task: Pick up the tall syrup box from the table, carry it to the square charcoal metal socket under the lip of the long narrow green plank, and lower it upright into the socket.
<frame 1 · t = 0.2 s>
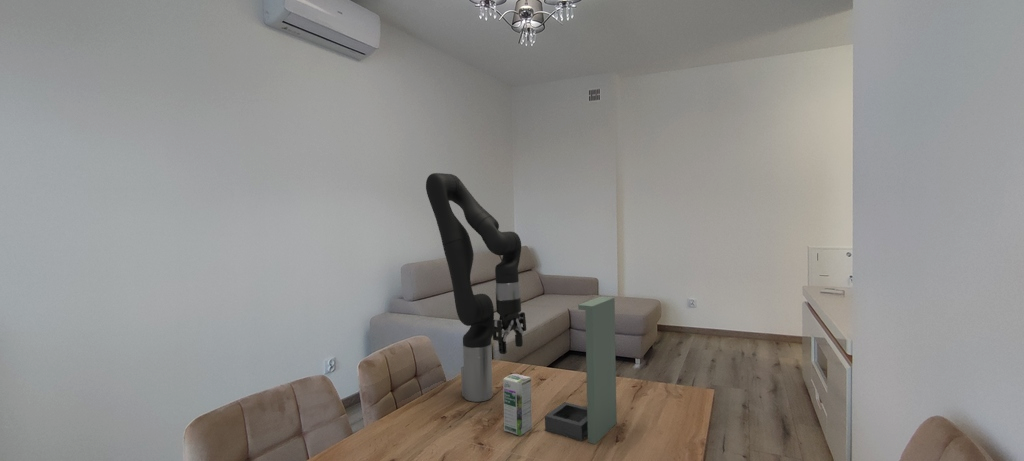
hand: (511, 349, 138), 18 cm above the table, tool pointing down, fingers open, 8 cm apart
syrup box: (518, 430, 124), on the table
wine bottle: (600, 408, 137), on the table
socket: (572, 427, 124), on the table
long narrow green plank: (602, 432, 121), on the table
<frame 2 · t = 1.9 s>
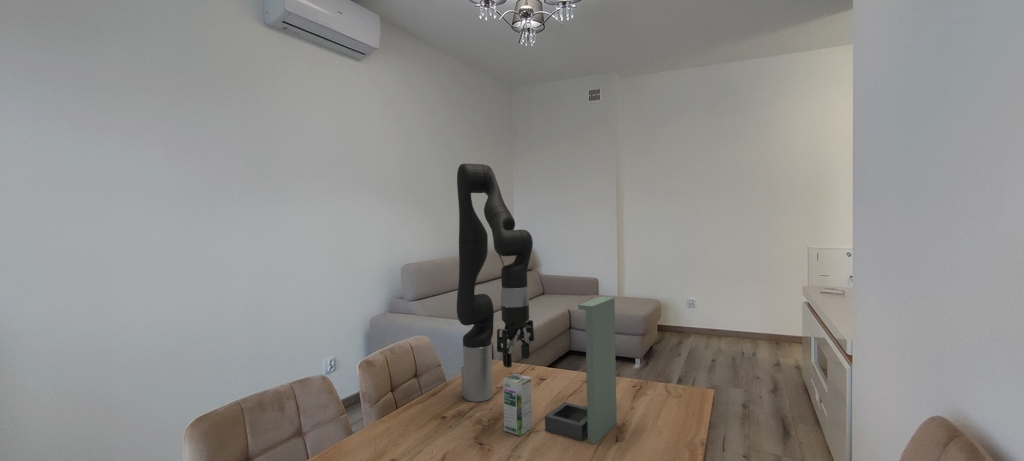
hand: (516, 362, 123), 19 cm above the table, tool pointing down, fingers open, 8 cm apart
nothing on the table moved.
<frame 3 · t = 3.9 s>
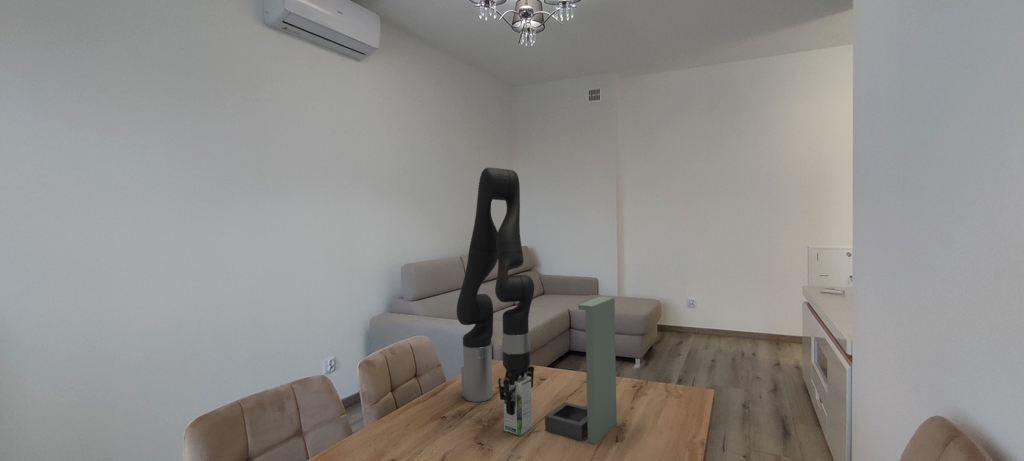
hand: (517, 409, 124), 6 cm above the table, tool pointing down, fingers closed on syrup box, 6 cm apart
syrup box: (518, 430, 124), on the table, touching gripper
everything else where it was.
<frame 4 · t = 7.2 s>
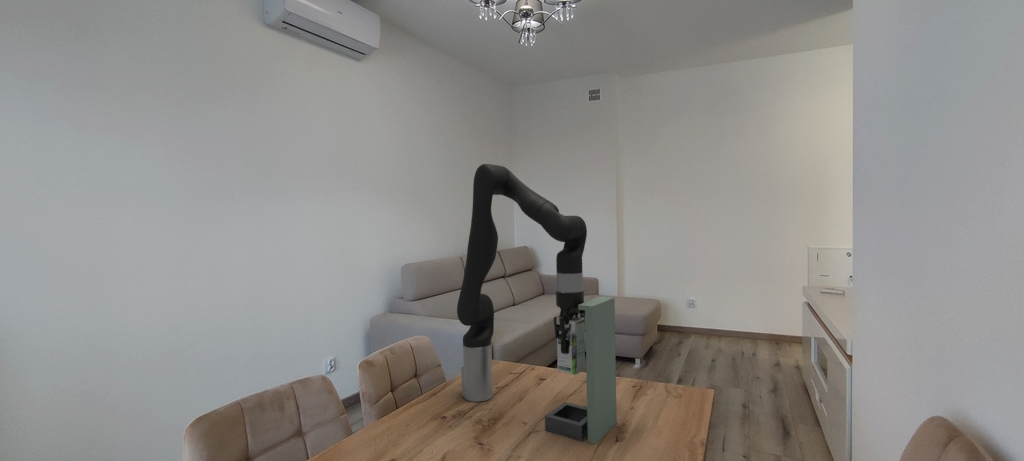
hand: (570, 350, 124), 21 cm above the table, tool pointing down, fingers closed on syrup box, 6 cm apart
syrup box: (571, 371, 124), point 16 cm above the table, touching gripper
everything else where it was.
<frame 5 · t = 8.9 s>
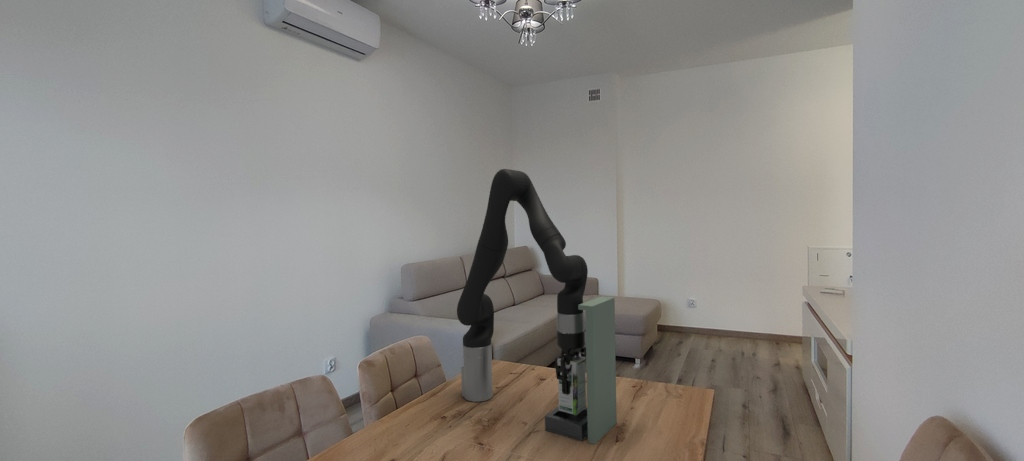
hand: (571, 389, 124), 11 cm above the table, tool pointing down, fingers closed on syrup box, 6 cm apart
syrup box: (572, 410, 124), point 5 cm above the table, touching gripper
everything else where it was.
when the fingers open (6 cm above the table, at t = 10.6 s): syrup box stays where it is, resting in socket.
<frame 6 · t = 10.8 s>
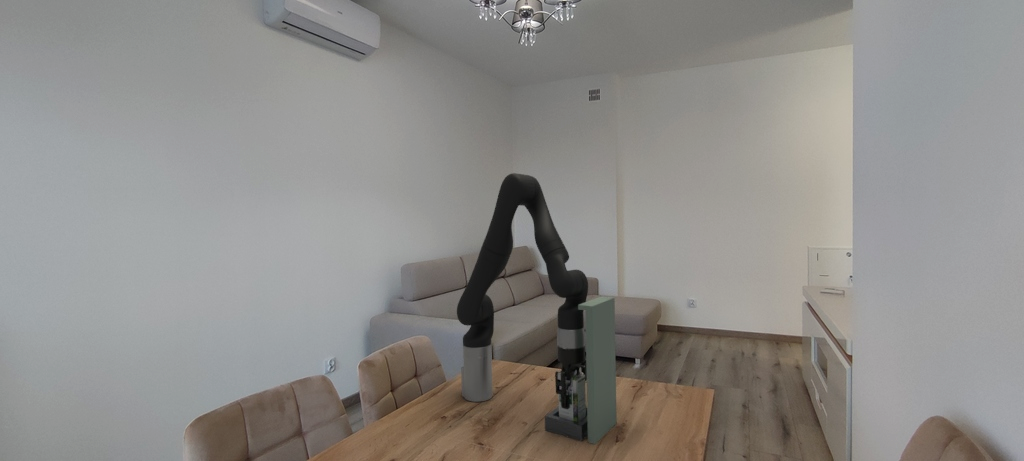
hand: (572, 403, 124), 7 cm above the table, tool pointing down, fingers open, 7 cm apart
syrup box: (572, 428, 125), resting in socket
everything else where it was.
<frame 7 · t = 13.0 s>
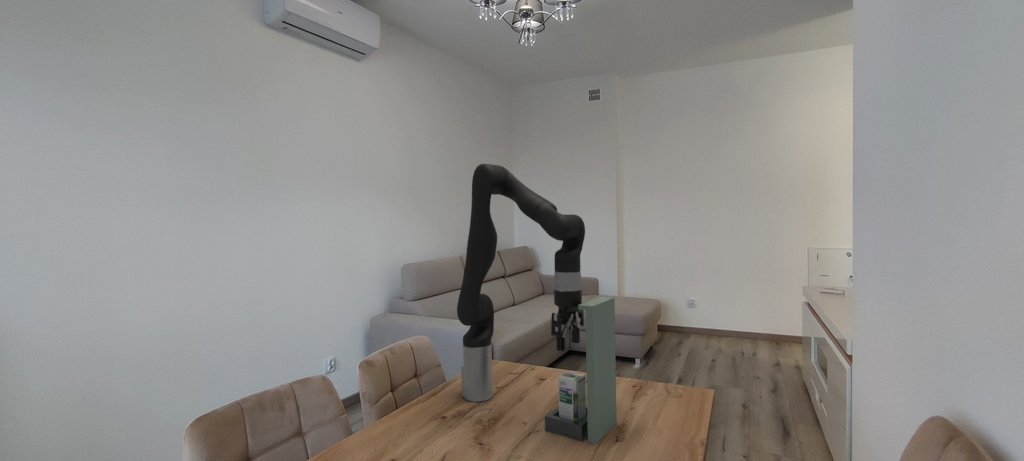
hand: (568, 346, 124), 22 cm above the table, tool pointing down, fingers open, 8 cm apart
nothing on the table moved.
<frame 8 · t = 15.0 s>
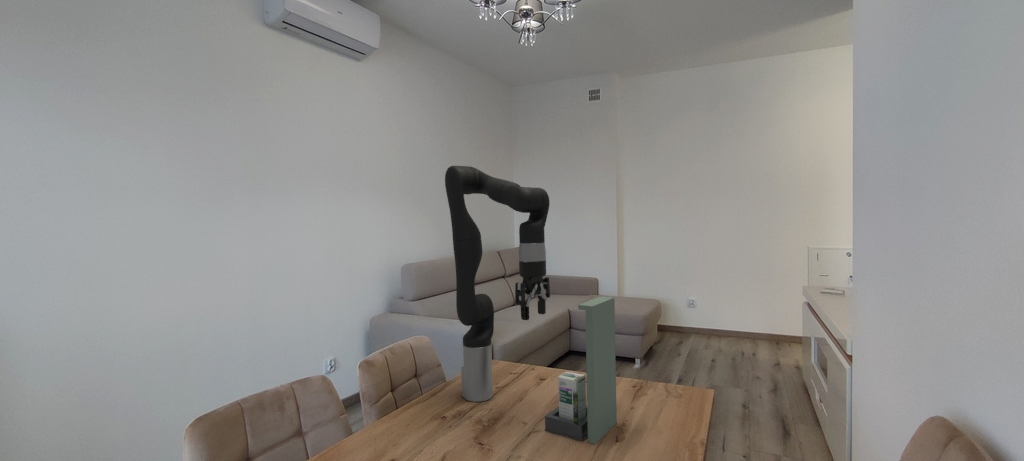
hand: (533, 316, 127), 30 cm above the table, tool pointing down, fingers open, 8 cm apart
nothing on the table moved.
at the end: syrup box 0.2 cm off-centre on the socket, point 0.0 cm above the socket's base; syrup box tilted 0°; the gripper is holding nothing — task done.
